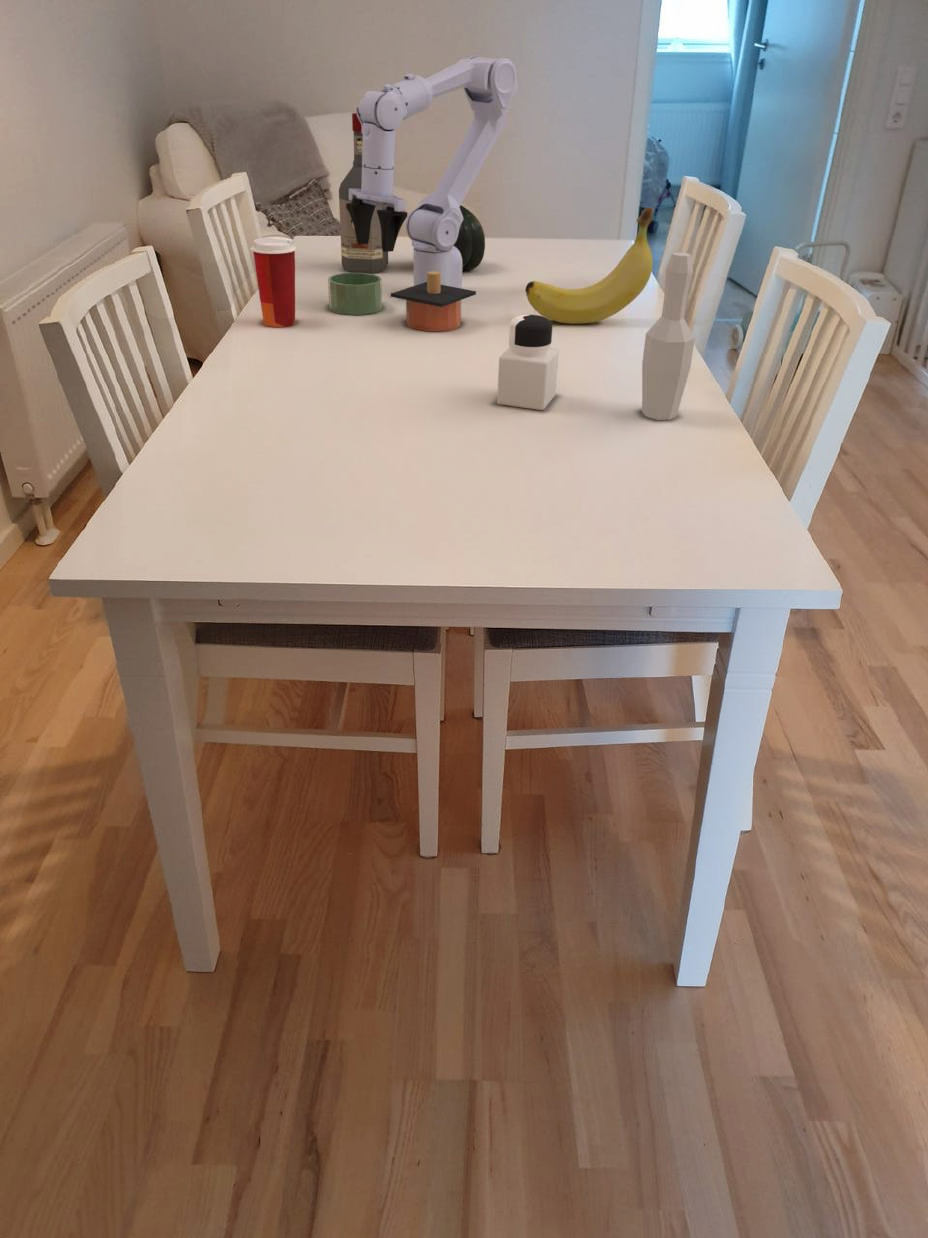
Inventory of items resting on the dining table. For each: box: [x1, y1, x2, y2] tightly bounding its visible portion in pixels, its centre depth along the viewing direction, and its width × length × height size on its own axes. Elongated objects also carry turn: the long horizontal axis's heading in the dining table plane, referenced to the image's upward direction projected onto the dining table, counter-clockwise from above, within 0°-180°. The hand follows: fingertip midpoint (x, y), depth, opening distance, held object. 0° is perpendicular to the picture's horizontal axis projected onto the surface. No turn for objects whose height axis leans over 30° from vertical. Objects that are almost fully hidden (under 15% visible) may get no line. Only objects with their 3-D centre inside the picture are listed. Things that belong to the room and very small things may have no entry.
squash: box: [453, 204, 486, 272], centre depth 208 cm, size 14×15×15 cm
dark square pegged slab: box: [390, 271, 477, 307], centre depth 170 cm, size 11×11×4 cm
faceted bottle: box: [641, 251, 696, 421], centre depth 132 cm, size 6×6×22 cm
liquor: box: [338, 112, 389, 274], centre depth 201 cm, size 9×9×30 cm
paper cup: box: [249, 236, 297, 328], centre depth 169 cm, size 8×8×14 cm
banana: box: [525, 207, 655, 325], centre depth 172 cm, size 23×6×20 cm, turn 94°
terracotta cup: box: [405, 300, 462, 332], centre depth 173 cm, size 10×10×5 cm
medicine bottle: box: [496, 314, 560, 411], centre depth 138 cm, size 7×7×12 cm
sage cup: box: [327, 272, 383, 316], centre depth 181 cm, size 10×10×5 cm
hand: (375, 247), depth 179 cm, fingers open, 7 cm apart
